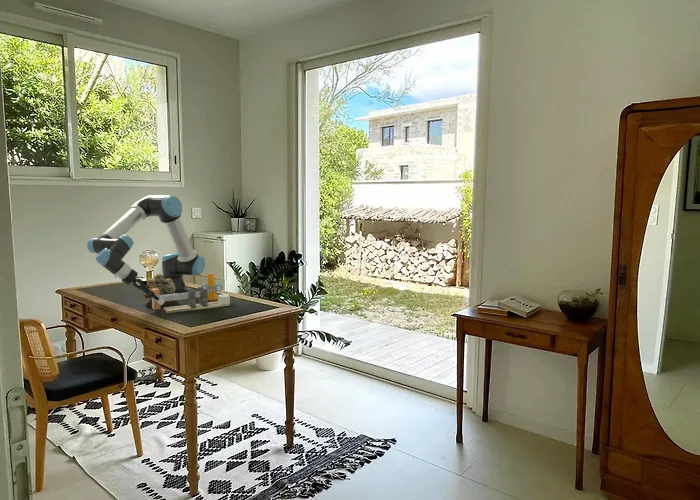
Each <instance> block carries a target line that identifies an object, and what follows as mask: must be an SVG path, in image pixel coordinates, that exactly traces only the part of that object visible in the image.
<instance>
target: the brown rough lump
mask: <svg viewBox="0 0 700 500" xmlns="http://www.w3.org/2000/svg"><path fill="white" fill-rule="evenodd" d="M146 286H147V287H148V286H149V287H150V289H151V290H152V289H154V288H158V289H159V290H160V295H167V294H176V293H174V292H175V284H174V283H173V281H172V280H171V279H169V278H168V279H166V280H164V281H163V274H161V273H157V274H155V275H154V276H153V277H152V278H149V279H147V282H146ZM143 296H144V297H145V299H150V300H149V301H147V302H146V303H145V304H144V305H145V307H147V308H152V298H149V295H147V294H146V293H145V292H144V293H143ZM178 301H179V300H172V301H165V302H164V303H163V304H162V305H160V308H165V307H172V306H176V305H177V304H178V303H179V302H178ZM152 309H153V308H152Z"/></svg>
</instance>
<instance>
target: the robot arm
mask: <svg viewBox="0 0 700 500" xmlns="http://www.w3.org/2000/svg"><path fill="white" fill-rule="evenodd" d="M182 212H183V204H182V201H181V200H180V198H179V197H177V196H175V195H170V194H165V195H153V194H152V195H147V196H144V197H143V198H141V199H139V200H137V201H136V202H134V203H133V204H132V205H131V206H130V207H129V210H128V211H127V212H126V213H125V214H124V215H122V216H121V218H119V219H117V221H116V222H115V223H114V224H112V225H111V226H110V227H109V228H108V229H106V230H105V231H104V232H103V233H102V234H101V235H100V236H98V237H94V238H90V239H89V240H88V241H87V243H86V245H87V246H86V247H87V250H88V252H89V253H92V254H97V255H96V256H95V261H96V262H97V264H99V265H100V266H101V267H103V268H105V269H106V270H107V271H109V273H111V274H112V275H114V278H118V279H119V280H121V282H123V284H125V285H128V286H129V285H130V284H131V283H132V285H133V286H134V287H135V288H137V289H138V290H140V291H143V293H144V294H145V293H146V294H147V295H149V298H148V299H153V300H155V301H156V302H157V303H159V304H160V305H162V304H163V303H164V302H165V301H164V300H163V299H162V298H160V297H159V296H158V295H157V294H155V293H154V292H152V290H151V289H150V287H149V286H148V287H147V284H145V283H144V282H143V281H142V279H140V278H137V277H138V275H139V273H138V272H137V271H136V269H134V268H132V267H131V266H130V265H129V264H127V263H126V262H125V261H124V260H123V259H124V257H125V256H126V255H127V254H128V253H129V252H130V250H131V248H132V247H133V246H134V240H133V238H131V237H130V236H129V235H127V233H128V232H130V231H131V230H132V229H133V228H134V227H135V226H136V225H137V224H138V223H140V222H141V221H144V220H146V218H149V217H158V218H159V221H160V222H161V223H162V224H164V225H165V227H166V230H167V232H168V234H169V235H170V238H171V240H172V242H173V245H174V247H175V249H176V252H177V253H175V252H174V253H169V254H164V255H162V257H161V267H162V269H161V270H162V275H163V279H162V280H163V281H164V280H166V279H168V278H169V279H171V280H172V281H173V283H174V284H175V292H174V293H184V292H187V285H186V282H185V280H184V275H186V276H200V275H201V274H202V273H203V272H204V270H205V266H206V260H205V257H203V256H200V255H199V254H198V251H197V250H195V249H194V248H193V246H192V243H191V242H190V239H189V237H188V234H187V232H186V229H185V227H184V224H183V222H182V220H181V217H182Z"/></svg>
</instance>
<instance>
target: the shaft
mask: <svg viewBox="0 0 700 500" xmlns="http://www.w3.org/2000/svg"><path fill="white" fill-rule="evenodd" d="M152 292H154V293H155V294H157V295H158V296H159V297H160V298H162V299H163V300H164V301H172V300H177V301H180V300H187V299H189V298H190V292H187V291H185V292H177V293H176V294H167V295H160V290H159V289H158V288H154V289H152ZM195 292H196V299H198V297H202V296H201V291H198V290H195ZM151 299H152V298H151ZM152 310H154V311H155V310H157V311H158V310H161V307H160V304H159V303H157V302H156V301H155V300H153V299H152Z"/></svg>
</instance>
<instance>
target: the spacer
mask: <svg viewBox="0 0 700 500" xmlns="http://www.w3.org/2000/svg"><path fill="white" fill-rule="evenodd" d="M216 301H218V303H219V304H221V305H222V304H230V305H231V296H230V295H228V294H227V293H221V294H217V300H216Z"/></svg>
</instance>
